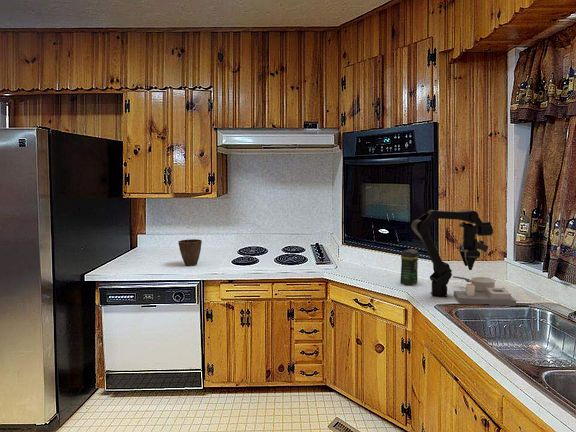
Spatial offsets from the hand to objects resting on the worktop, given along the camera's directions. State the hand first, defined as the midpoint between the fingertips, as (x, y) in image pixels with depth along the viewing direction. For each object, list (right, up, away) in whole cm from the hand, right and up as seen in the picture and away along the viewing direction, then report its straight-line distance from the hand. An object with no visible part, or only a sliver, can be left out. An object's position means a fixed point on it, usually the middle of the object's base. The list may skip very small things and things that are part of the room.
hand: (468, 268), depth 205 cm
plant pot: (-151, -7, +72) cm, 168 cm away
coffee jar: (-22, -11, +22) cm, 33 cm away
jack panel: (+3, -14, -9) cm, 17 cm away
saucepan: (+7, -12, +10) cm, 18 cm away
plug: (-3, -14, -8) cm, 16 cm away
